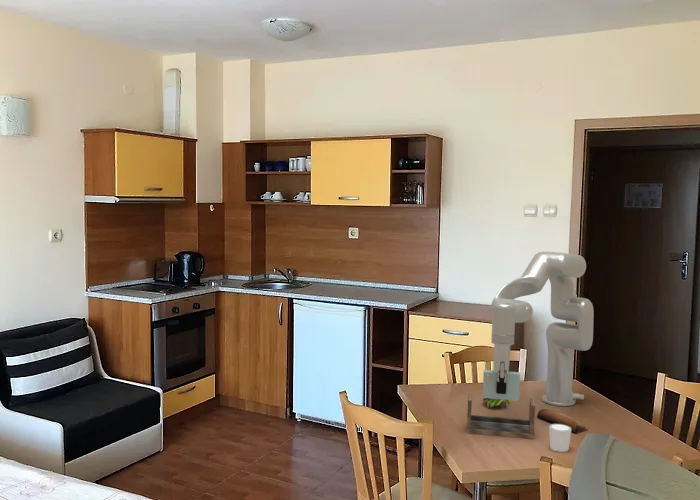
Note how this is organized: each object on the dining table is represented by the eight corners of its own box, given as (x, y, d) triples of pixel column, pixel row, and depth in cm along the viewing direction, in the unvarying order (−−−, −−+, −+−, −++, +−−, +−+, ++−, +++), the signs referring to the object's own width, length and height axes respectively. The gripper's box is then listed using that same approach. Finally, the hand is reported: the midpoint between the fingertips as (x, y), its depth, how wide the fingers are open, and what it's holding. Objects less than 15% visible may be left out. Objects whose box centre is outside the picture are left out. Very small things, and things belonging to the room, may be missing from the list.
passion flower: (488, 416, 248) (493, 387, 254) (514, 417, 241) (518, 387, 247) (475, 405, 241) (480, 376, 247) (501, 406, 234) (505, 376, 240)
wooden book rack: (532, 430, 218) (533, 398, 217) (533, 439, 210) (535, 405, 209) (467, 425, 222) (468, 393, 221) (466, 433, 215) (467, 400, 214)
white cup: (544, 444, 206) (545, 423, 205) (565, 444, 206) (566, 423, 206) (553, 452, 199) (554, 431, 198) (574, 452, 199) (575, 430, 199)
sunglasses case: (592, 429, 219) (586, 415, 217) (580, 442, 217) (573, 428, 214) (553, 414, 235) (547, 400, 233) (541, 426, 232) (534, 412, 230)
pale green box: (518, 398, 215) (519, 372, 215) (519, 401, 212) (520, 375, 211) (482, 395, 218) (483, 369, 217) (482, 398, 214) (483, 372, 214)
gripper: (491, 333, 222) (489, 384, 224) (491, 343, 206) (489, 398, 208) (513, 334, 221) (511, 386, 222) (515, 344, 205) (513, 400, 206)
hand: (501, 391), depth 215 cm, fingers closed on pale green box, 3 cm apart
